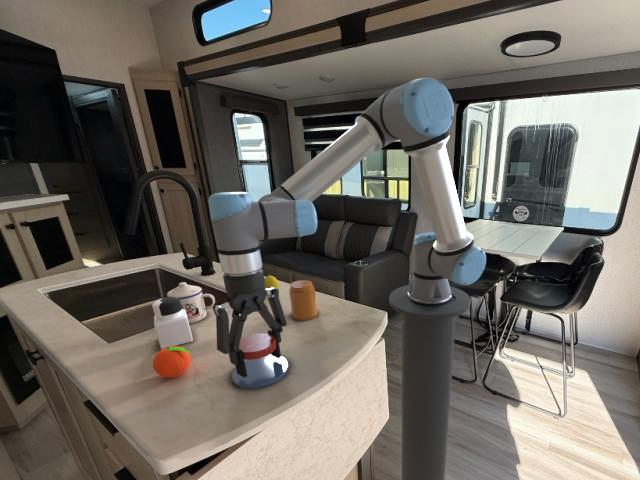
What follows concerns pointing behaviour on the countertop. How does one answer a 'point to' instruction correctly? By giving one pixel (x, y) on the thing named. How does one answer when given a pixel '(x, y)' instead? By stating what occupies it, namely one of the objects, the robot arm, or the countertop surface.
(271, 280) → the lemon
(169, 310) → the medicine bottle
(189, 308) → the teacup with lid
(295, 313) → the jar
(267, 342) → the lid
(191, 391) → the countertop surface
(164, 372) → the clementine
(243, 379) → the saucer
